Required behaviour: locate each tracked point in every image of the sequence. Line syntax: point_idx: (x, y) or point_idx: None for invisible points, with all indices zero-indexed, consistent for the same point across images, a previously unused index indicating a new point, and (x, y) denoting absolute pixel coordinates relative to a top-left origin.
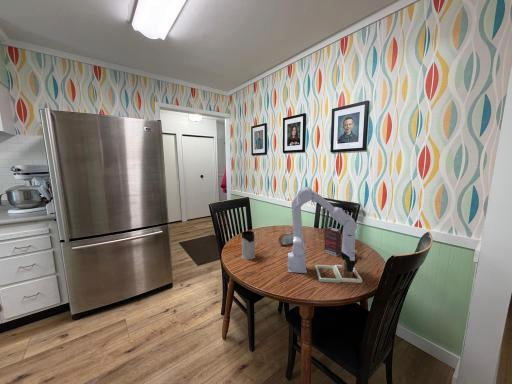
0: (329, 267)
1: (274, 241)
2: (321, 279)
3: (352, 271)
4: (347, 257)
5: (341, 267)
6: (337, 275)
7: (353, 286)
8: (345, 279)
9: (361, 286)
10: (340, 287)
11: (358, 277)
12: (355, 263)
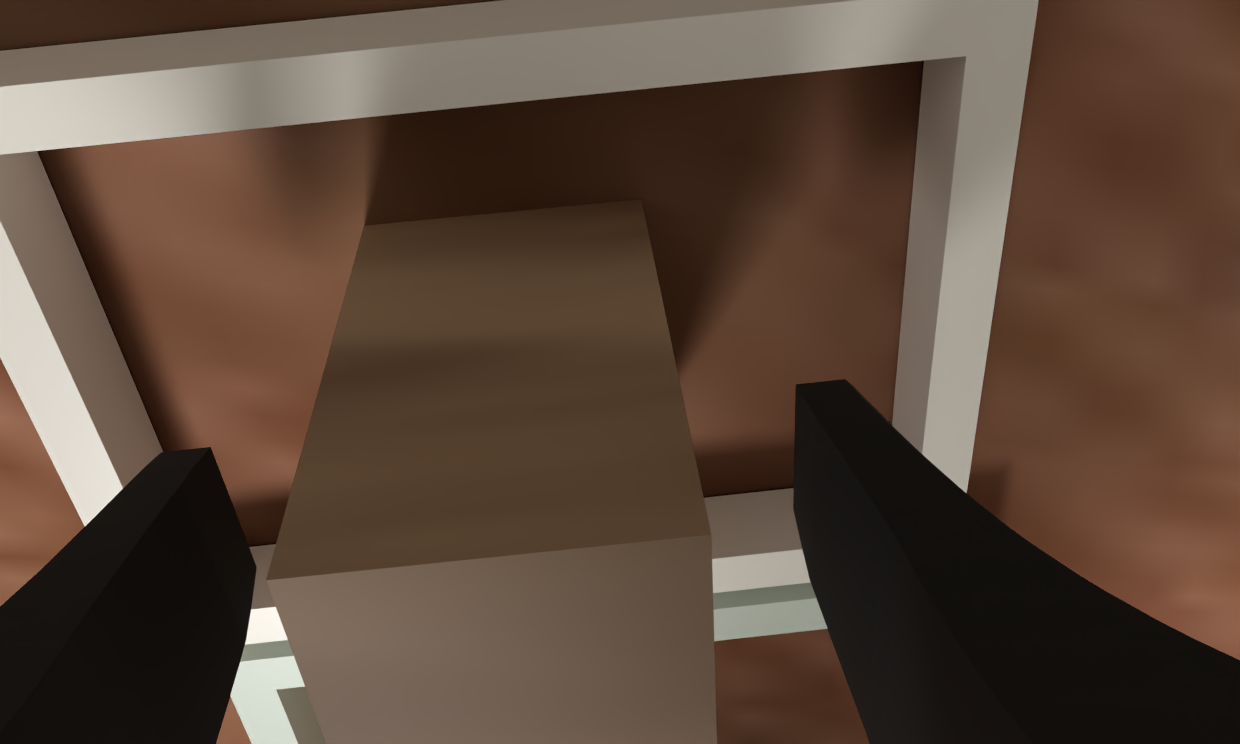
0: (307, 716)
1: None
2: None
3: (662, 304)
4: (93, 719)
5: (143, 454)
6: (792, 619)
7: (1169, 254)
8: (963, 458)
9: (1198, 26)
10: (1174, 528)
11: (803, 59)
12: (1200, 651)
